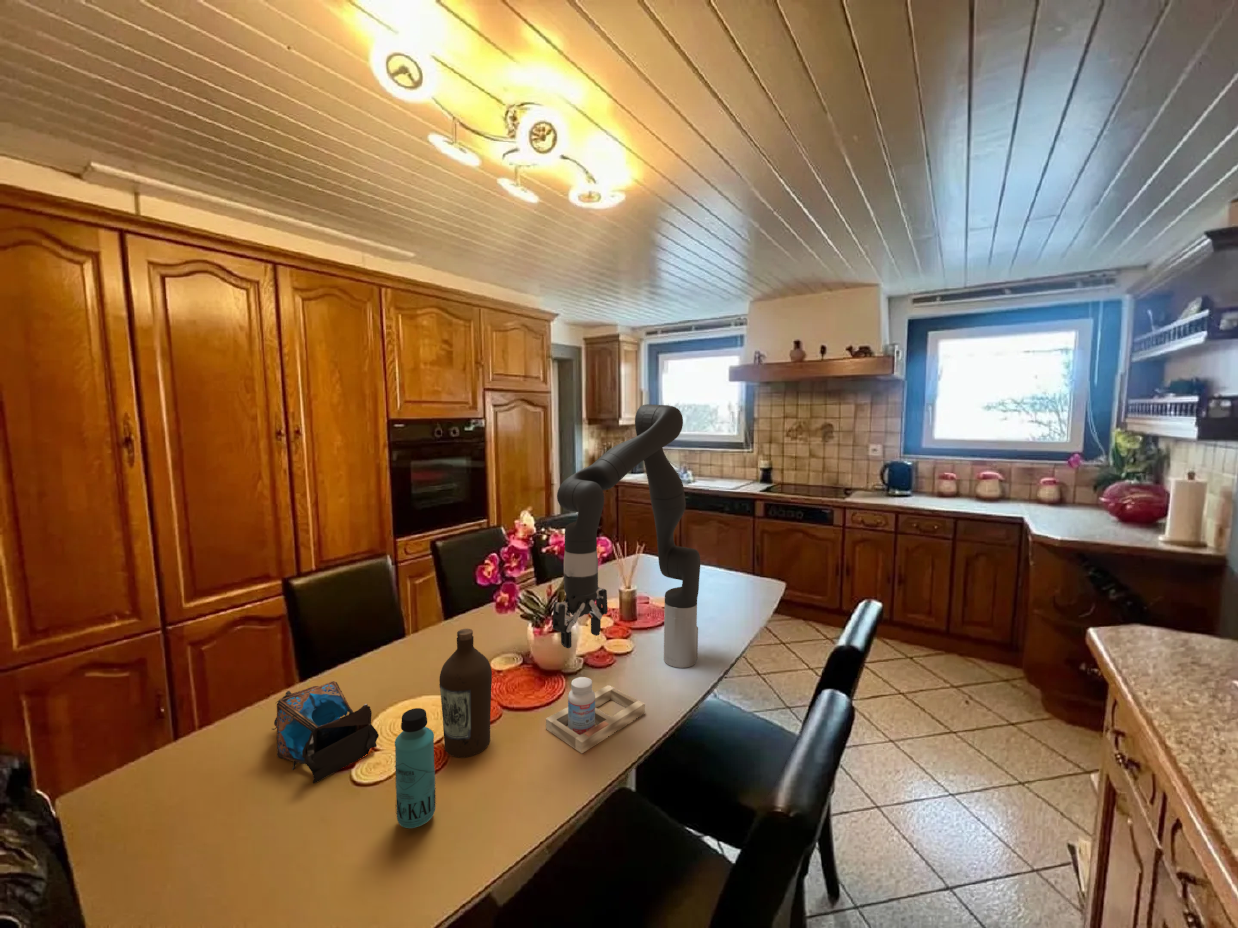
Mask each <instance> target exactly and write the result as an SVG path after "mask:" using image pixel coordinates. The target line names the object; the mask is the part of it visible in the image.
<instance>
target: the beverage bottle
mask: <svg viewBox="0 0 1238 928" xmlns="http://www.w3.org/2000/svg"><path fill="white" fill-rule="evenodd" d="M427 724H428V717H427V711H426V710H425V709H424V708H421V707H416V708H410V709H408V710H406V711H405V712H403V713H402V715H401V723H400V729H401V732H400V733H399V734H398V735H397V737H396V738H395V741H394V747H395V748H394V749H395V751H394V752H395V758H394V759H395V765H394V770H395V782H394V784H395V785H394V786H395V792H396V793H395V800H394V801H395V802H394V803H396V805H395V808H396V812H395V815H396V821H397V823H398V824H399V826H401V827H403V828H406V829H415V828H417V827H421V826H423V825H425V824H427V823H428V822H429V821H430V820H431V819H432V818H433V816H434V814H435V811H436V793H437V792H436V791H437V787H436V769H435V745H434V744H435V743H434V742H435V739H434V738H435V733H434V731H433V730H431V729H430V728H429V727H427Z"/></svg>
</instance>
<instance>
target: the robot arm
mask: <svg viewBox="0 0 1238 928" xmlns="http://www.w3.org/2000/svg"><path fill="white" fill-rule="evenodd" d="M634 426H635V427H634V428H635V433H636V436H634V437H631V439H628V440H625V441H623V442H621V443H618V444H616V445H615V446H613V447H611V448H610V449H608V450H607V451H606V452H605V453H603V454H602V455H601V456H600V457H599V458H598V459H596V460H595V461H594V462H593V463H592V464H591V465H589V466H587V467H584V468H582V469H580V470H579V471H577V472H575V473H573V474H571V475H569V477H567V478H565V480H563V482H561V484H560V485H559V487H558V490H557V493H556V498H557V502H558V505H559V506H560V507H561V508H563V509H565V510H567V511H570V512H571V511H572V512H576V513H577V518H576V521H573V522H570V523H568V524H567V525H565V528H564V555H563V590H564V592H565V598H564V601H561V602H558V601H555V602H553V606H552V607H553V608H552V609H553V613H552V614H553V615H552V629H553V630H555V631H558V632H560V638H561V639H560V643H561V645H562V647H564V648H565V649H571V648H572V631H571V630H572V628H573V626H574V624H575V623H577V622H578V619H579V618H582V617H583V616H584V615H590V616H591V617H590V633H591V634H592V635H593V636H599V635H600V634H601V630H602V629H601V623H602V622H601V621H602V619H603V616H604V615H607V614H608V590H607V589H605V588H602V587H599V557H598V550H597V549H598V548H597V547H598V543H597V542H598V540H597V539H598V536H597V535H598V533H597V532H598V528H599V525H600V520H601V518H602V512H603V509H604V504H605V496H604V495H605V494H604V491H606V490H610V489H612V488H614V486H616V485H617V484H618V483H619V482H620V481H621V480H622V479H623V478H624V477H626V475H628V474H629V473H630V472H631V470H633V469H634V468H635V467H636V466H638V465H639V464H640V463H642V462H643V464H644V468H645V473H646V477H647V478H646V479H647V483H648V492H649V497H650V504H651V508H652V514H653V518H654V525H655V532H656V543H657V556H658V566H659V570H660V573H661V574H662V575H663V576H664V577H666V578H669V579H674V580H678V581H681V583H682V584H681V586H678V587H673V588H669V589H668V590H666V591H665V594H664V611H663V612H664V623H663V627H664V628H663V629H664V630H663V661H664V663H666V664H667V665H668V666H670V667H674V668H679V669H680V668H681V669H682V668H683V669H685V668H690V667H692V666H694V665H695V664H696V663H697V662H696V661H697V659H698V653H699V648H698V647H699V627H698V626H697V625H698V596H699V588H700V573H701V556H700V552H699V551H698V550H697V549H695V548H691V547H684V546H680V545H679V546H678V545H676V543H675V540H674V538H675V537H674V533H675V530H676V527H677V526H678V524H679V522H680V521H681V519H682V517H683V515H684V513H685V510H686V505H687V504H686V502H687V501H686V495H685V488H684V485H683V481H682V479H681V477H680V475H679V474H678V473H677V471H676V469H675V468H674V466H673V465H672V463H670V461H669V460H668V457H667V456H666V454H665V452H664V449H663V448H664V447H666V446H667V445H669V444H670V443H673V441H675V440H676V439H677V438H678V437H679V436H680V435H681V433H682V429H683V426H684V418H683V414H682V412H681V410H680V409H679V408H678V407H676V406H673V405H669V404H668V405H667V404H666V405H665V404H651V403H650V404H643V405H641V406H639V407H638V409H637V410H636V412H635V415H634ZM570 614H571V616H570Z"/></svg>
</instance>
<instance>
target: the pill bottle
mask: <svg viewBox="0 0 1238 928" xmlns="http://www.w3.org/2000/svg"><path fill="white" fill-rule="evenodd" d="M570 683H571V687H570V691H569V693H568V697H567V707H568V724H567V727H568V728H569V729H571V730H572V731H574V732H575V733H577V734H578V735H581V734H583V733H585V732H586V731H588V730H590V729H591V728H593V727H595V726H596V723H595V691H594V690H593V680H592V679H591V678H589V677H587V676H586V677H585V676H579V677H576V678H574V679H572V680H571V682H570Z"/></svg>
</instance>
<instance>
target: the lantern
mask: <svg viewBox="0 0 1238 928" xmlns="http://www.w3.org/2000/svg"><path fill="white" fill-rule="evenodd" d="M275 704H276V718H274V722H273V725H274V726H275V728H272V730H274V731H275V730H276V757H277V758H280V759H282V760H286V761H293V766H292V771H294V769H295V768H296V765H297V764H302V765H305V766H307V768H309V769H308V770H310V772H311V773H312V778H313V780H312V784H316V783H318V782H320V781H322V780H324V779H325V778H327V777H328V776H330V775H333V774H335V773H336V772H339V771H340V770H342V769H344V768H346V767H348V766H349V765H351V764H353V763H355V762H358V761H359V760H361V759H360V758H362V757H363V756H365V755H366V754H368V755H369V752H370V751H371V749H373V748H377V740H378V739H379V736H380V735H379V733H378V731H377V729H376V727H374V726H373V724H372V717H373V715H372V713H373V712H372V710H371V707H370V706H369V705H368V703H364V704H363V705H362V706H361V707H359V709H357V710H356V711H354V710H353V709H352V708H351V707H350V704H349V703H348V700H347V698H346V697H345V695H344V693H343V692H342V690H341V688H340V685H339V684H338V682H337V681H335V680H334V681H333V680H331V681H330V682H327V683H325V684H322V685H314V686H310V687H307V688H305V689H302V690H298V691H296V692H293V693H292V692H291V691H290V690H287V691H286V692H285V695H284V696H282V697H281V698H279V700H277V701H276V702H275ZM348 713H349V714H348ZM365 757H366V756H365ZM358 759H359V760H358ZM362 759H363V758H362ZM343 767H344V768H343ZM341 768H342V769H341Z"/></svg>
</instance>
